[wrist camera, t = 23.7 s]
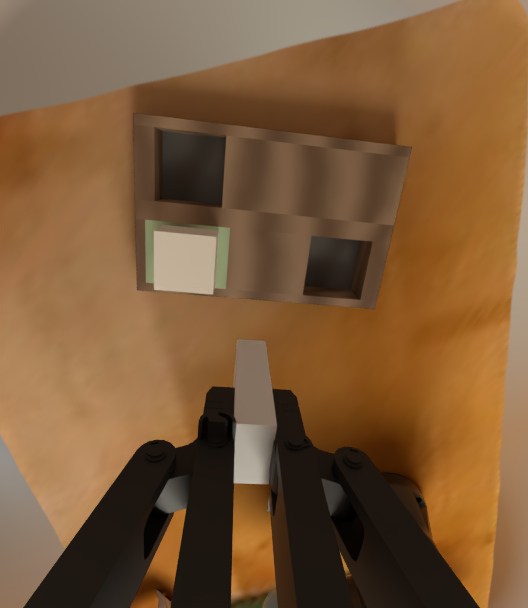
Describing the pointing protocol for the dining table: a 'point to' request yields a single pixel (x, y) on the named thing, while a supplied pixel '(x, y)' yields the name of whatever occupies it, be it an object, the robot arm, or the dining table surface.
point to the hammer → (163, 601)
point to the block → (185, 259)
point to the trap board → (270, 207)
